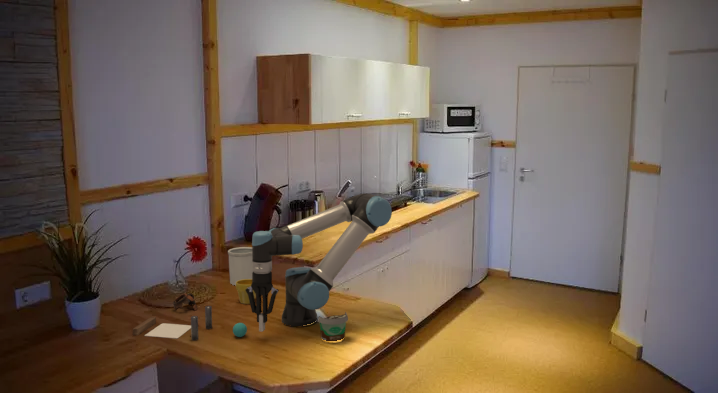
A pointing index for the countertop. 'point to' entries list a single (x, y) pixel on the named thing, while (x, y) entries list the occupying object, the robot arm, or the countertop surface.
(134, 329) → the wall
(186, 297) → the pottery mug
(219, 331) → the countertop surface
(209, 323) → the post
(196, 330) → the post
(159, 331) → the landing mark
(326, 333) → the food container
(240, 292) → the plant pot
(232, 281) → the utensil holder
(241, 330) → the ball
